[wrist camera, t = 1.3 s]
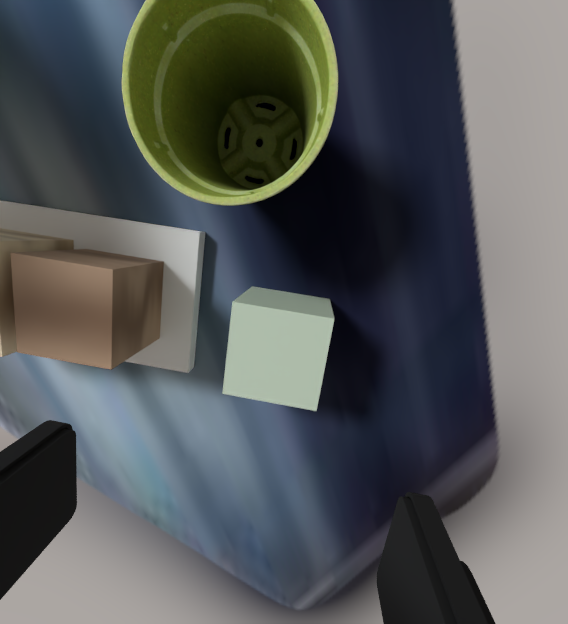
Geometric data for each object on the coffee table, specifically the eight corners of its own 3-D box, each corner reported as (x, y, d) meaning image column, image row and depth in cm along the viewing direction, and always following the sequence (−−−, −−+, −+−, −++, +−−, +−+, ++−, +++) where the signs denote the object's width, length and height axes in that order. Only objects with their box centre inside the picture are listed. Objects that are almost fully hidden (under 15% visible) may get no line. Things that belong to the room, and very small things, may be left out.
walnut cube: (86, 248, 23) (10, 252, 18) (163, 261, 23) (112, 269, 17) (86, 325, 25) (17, 352, 19) (159, 338, 24) (111, 369, 19)
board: (-7, 199, 24) (-23, 197, 23) (205, 232, 23) (199, 231, 22) (3, 332, 27) (-11, 336, 26) (193, 367, 26) (188, 373, 25)
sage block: (252, 286, 24) (232, 301, 18) (329, 298, 24) (334, 318, 18) (243, 358, 26) (222, 393, 20) (316, 371, 25) (316, 411, 19)
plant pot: (315, 226, 23) (316, 220, 14) (189, 206, 23) (117, 188, 15) (341, 78, 20) (360, -34, 12) (200, 60, 21) (123, -60, 12)
